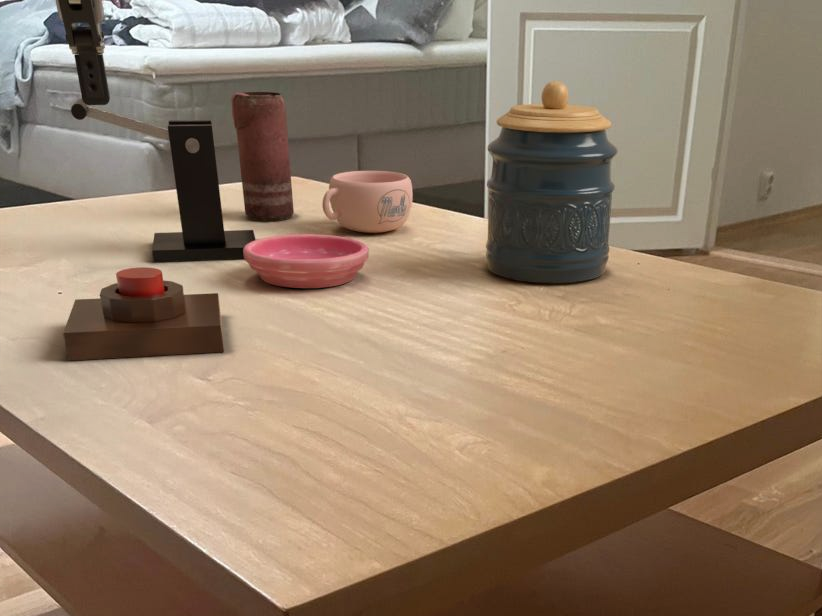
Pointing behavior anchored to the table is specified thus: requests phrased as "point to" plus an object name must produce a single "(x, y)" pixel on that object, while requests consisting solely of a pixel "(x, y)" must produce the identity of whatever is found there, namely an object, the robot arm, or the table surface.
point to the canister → (550, 192)
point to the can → (263, 155)
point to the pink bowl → (306, 259)
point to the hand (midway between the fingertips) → (97, 103)
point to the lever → (117, 120)
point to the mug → (369, 200)
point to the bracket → (197, 201)
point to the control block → (144, 324)
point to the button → (140, 282)
